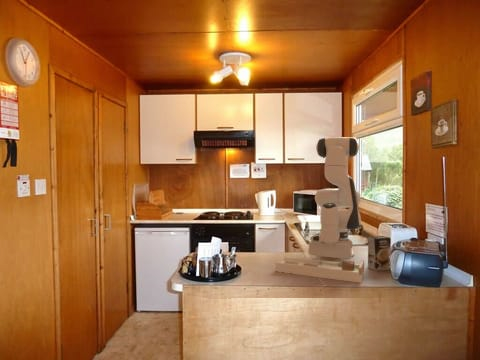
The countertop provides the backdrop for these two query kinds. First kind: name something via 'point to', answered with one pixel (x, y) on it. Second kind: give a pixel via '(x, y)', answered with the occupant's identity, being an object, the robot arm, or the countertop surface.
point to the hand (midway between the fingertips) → (329, 265)
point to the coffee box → (379, 252)
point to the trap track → (320, 269)
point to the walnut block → (348, 265)
